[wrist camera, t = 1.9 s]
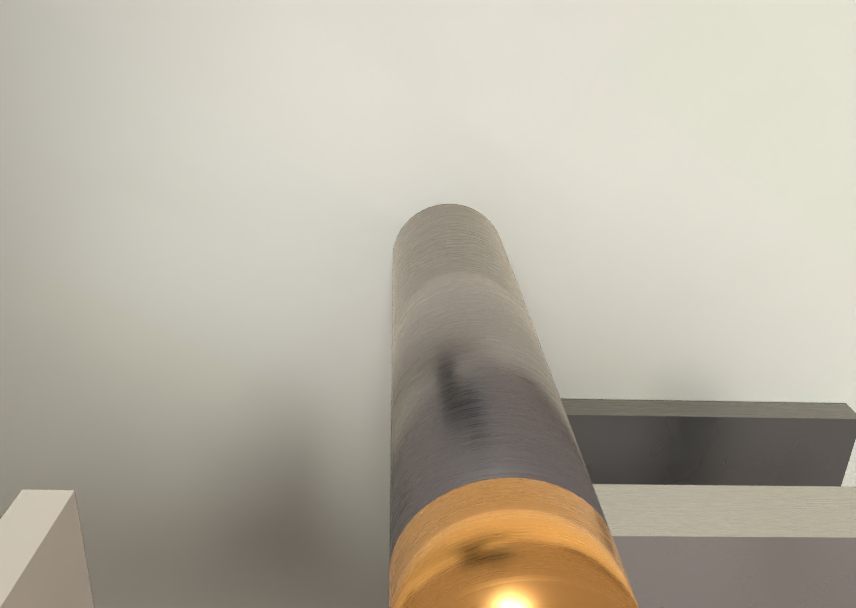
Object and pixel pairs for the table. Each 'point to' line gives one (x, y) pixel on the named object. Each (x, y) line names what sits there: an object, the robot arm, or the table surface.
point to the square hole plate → (725, 499)
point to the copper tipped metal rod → (483, 439)
